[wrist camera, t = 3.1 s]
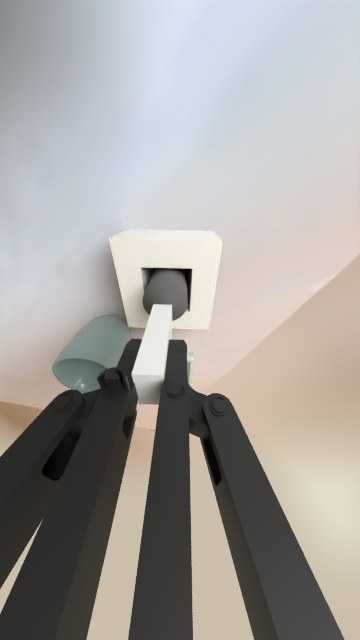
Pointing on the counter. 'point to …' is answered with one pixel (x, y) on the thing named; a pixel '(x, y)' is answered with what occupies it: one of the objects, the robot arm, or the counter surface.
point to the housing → (167, 252)
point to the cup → (92, 353)
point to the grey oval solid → (167, 290)
